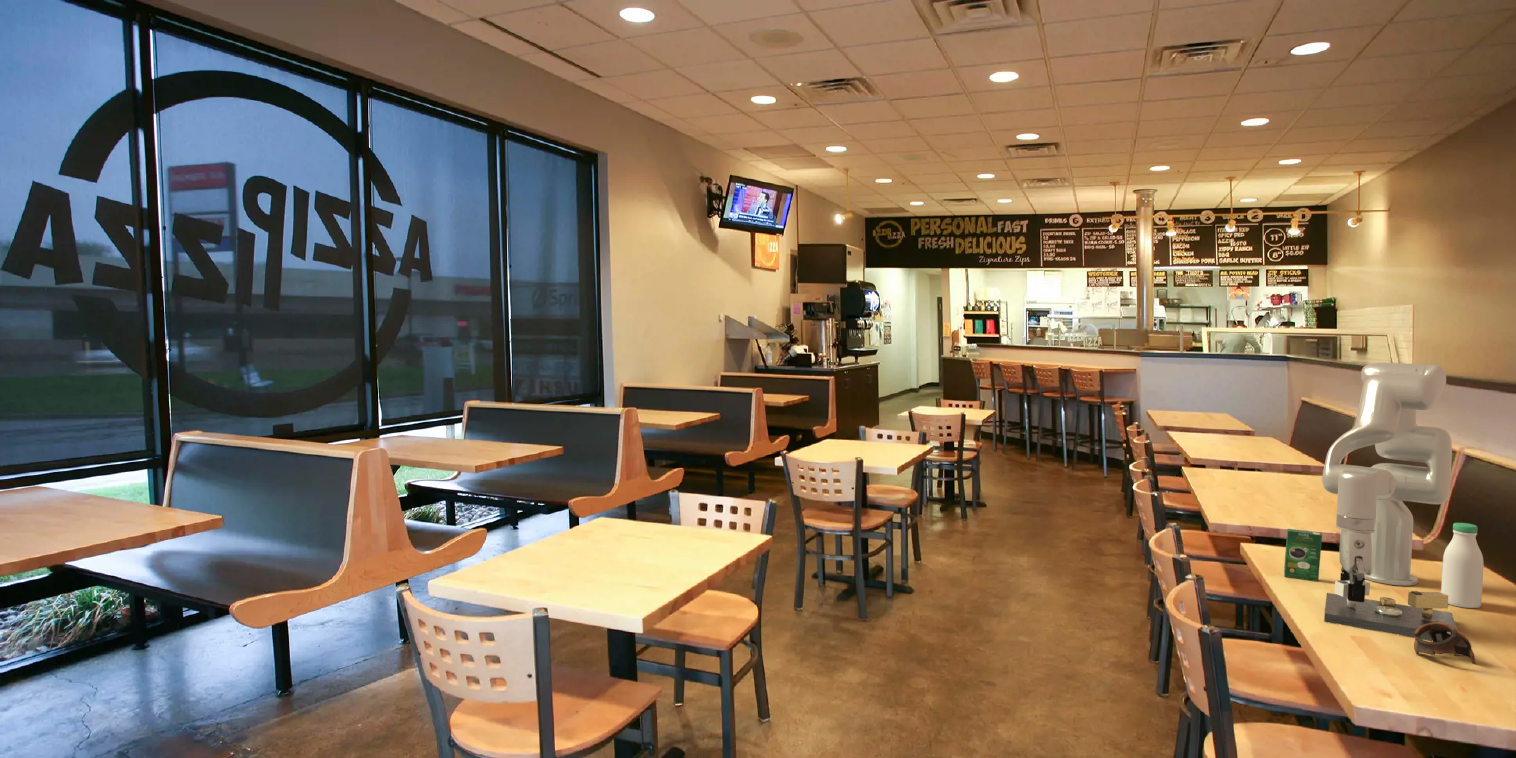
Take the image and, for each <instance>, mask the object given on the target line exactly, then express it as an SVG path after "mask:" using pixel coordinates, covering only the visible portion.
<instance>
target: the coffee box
mask: <svg viewBox="0 0 1516 758" xmlns="http://www.w3.org/2000/svg"><path fill="white" fill-rule="evenodd" d="M1285 541H1286V542H1285V543H1286V544H1285V555H1284V570H1283V574H1284V575H1283V576H1284V577H1285V578H1286V577H1287V578H1291V579H1299V580H1306V581H1313V582H1319V580H1320V576H1319V575H1320V563H1321V562H1320V561H1321V553H1322V541H1323V535H1322V532H1316V531H1308V530H1299V529H1292V528H1287V529H1286V540H1285Z"/></svg>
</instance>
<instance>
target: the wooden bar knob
mask: <svg viewBox="0 0 1516 758" xmlns="http://www.w3.org/2000/svg"><path fill="white" fill-rule="evenodd" d="M1407 606H1412V607H1415V608H1422V618H1424V619H1432V612H1433V610H1434V609H1446V610H1448V609H1449V604H1448V595H1446V594H1443V593H1441V591H1417V590H1411V591H1408V595H1407Z"/></svg>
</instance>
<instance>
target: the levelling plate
mask: <svg viewBox="0 0 1516 758" xmlns="http://www.w3.org/2000/svg"><path fill="white" fill-rule="evenodd" d="M1396 602H1397V601H1396V599H1394V598H1392V597H1388V596H1381V597H1379V600H1375V599H1374V600H1373V599H1369V598H1365V601H1364V602H1356V607H1351V606H1347V597H1342V596H1340V595H1337V594H1335V593H1331V592H1326V598H1325V606H1324V617H1323V618H1324V620H1323V621H1324V622H1325V623H1331V624H1337V625H1343V626H1347V627H1354V628H1359V629H1364V630H1369V631H1376V632H1380V633H1387V634H1391V635H1397V634H1399V636H1404V637H1409V638H1414V637H1416V636H1415V634H1414V633H1415V631H1416V629H1418V628H1419V627H1420V626H1422V625H1424V624H1428V623H1432V622H1435V621H1437V622H1442V623H1447V624H1449V625H1451V626H1453V627H1454V628H1455V629H1456V630H1457V631H1459V630H1458V627H1457V625H1456V621H1455V619H1454V616H1453V615H1454V614H1453V613H1452V612H1449V611H1444V610H1443V611H1442V610H1438V609H1437V610H1436V609H1433V612H1432V619H1424V618H1422V608H1415V607H1412V606H1410V605H1408V604H1407V605H1405V604H1399V603H1396ZM1447 633H1448V634H1451V632H1447ZM1420 638H1421V639H1422V640H1425V641H1430V642H1433V641H1432V638H1431V637H1430V635H1429V634H1428V631H1426V632H1424V633H1423V634H1421V635H1420Z"/></svg>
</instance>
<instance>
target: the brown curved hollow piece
mask: <svg viewBox="0 0 1516 758" xmlns="http://www.w3.org/2000/svg"><path fill="white" fill-rule="evenodd" d="M1457 630H1458V629H1457ZM1457 630H1456V629H1455V628H1454V627H1453V626H1451V625H1449V624H1447V623H1442V622H1437V621H1435V622H1432V623H1428V624H1424V625H1422V626H1420V627H1419V628H1418V629H1416V631H1415V633H1414V634H1415V636H1416V637H1415V638H1414V643H1413V649H1414V651H1415V654H1416V656H1419V655H1420V653H1421V654H1427V655H1431V656H1435V655H1444V654H1450V655H1452V656H1456V655H1458V656H1459V655H1460V656H1463V657H1467V658H1469V659H1470V660H1471V663H1472V664H1473V665H1476V661H1475V660H1476V658H1475V657H1476V656H1475V653H1474V651H1473V649H1472V645H1471V643H1470V640H1469V639H1468V637H1467V636H1466V635H1465V634H1464V633H1462V632H1461V631H1459V630H1458V631H1457ZM1426 631H1428V634H1429V635H1430V637H1431V638H1432V641H1429V640H1425V639H1421V638H1420V635H1421V634H1423V633H1424V632H1426ZM1447 632H1451V634H1448V633H1447Z"/></svg>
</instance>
